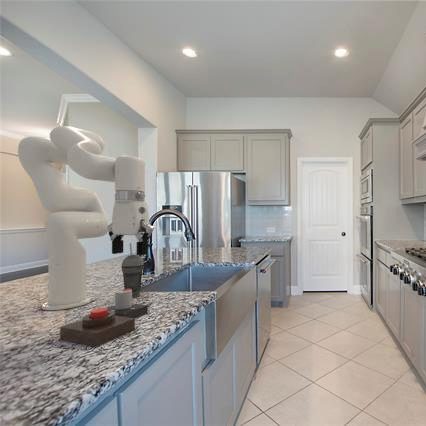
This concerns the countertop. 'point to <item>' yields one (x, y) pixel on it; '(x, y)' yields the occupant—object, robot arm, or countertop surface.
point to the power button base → (97, 329)
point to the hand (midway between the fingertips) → (129, 254)
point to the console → (130, 310)
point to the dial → (123, 299)
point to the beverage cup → (132, 273)
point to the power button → (99, 313)
